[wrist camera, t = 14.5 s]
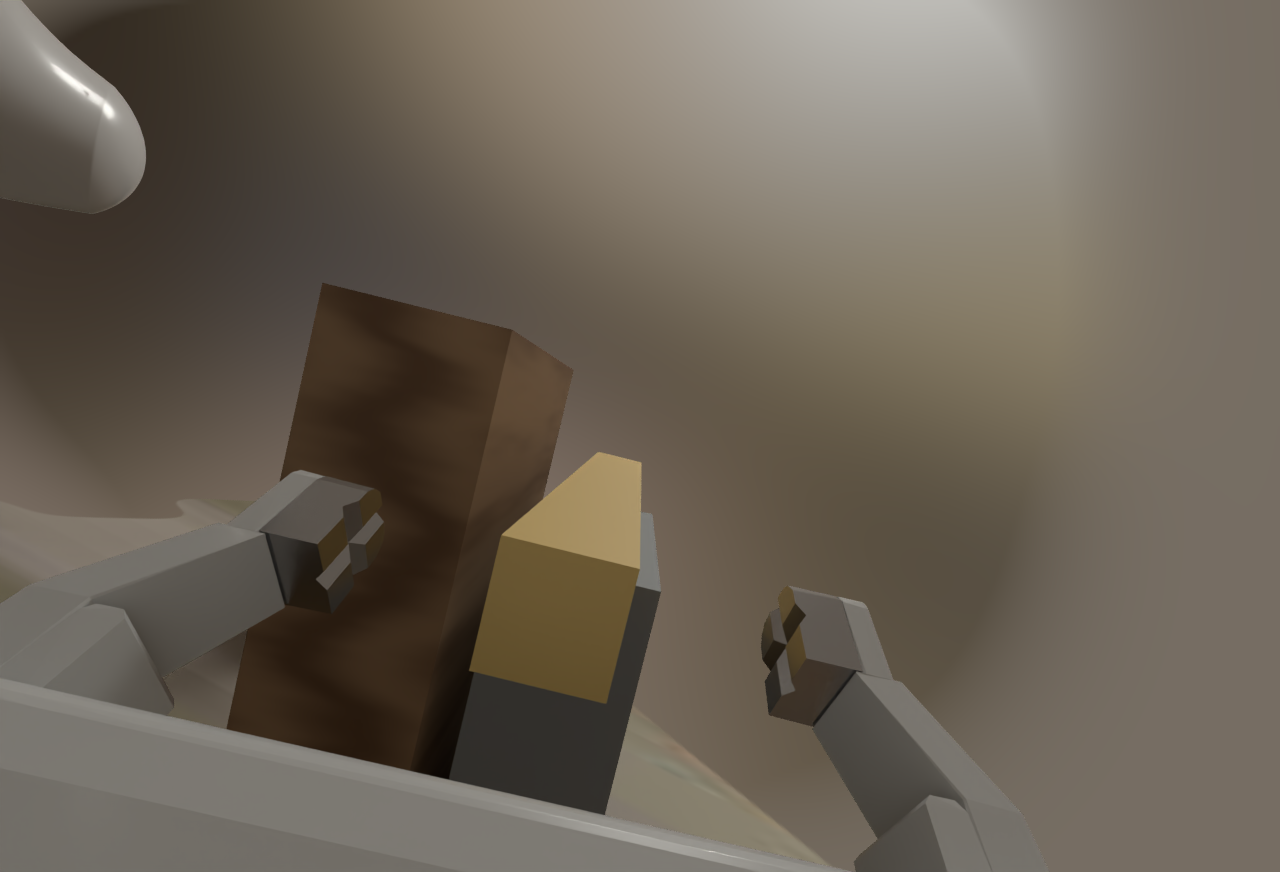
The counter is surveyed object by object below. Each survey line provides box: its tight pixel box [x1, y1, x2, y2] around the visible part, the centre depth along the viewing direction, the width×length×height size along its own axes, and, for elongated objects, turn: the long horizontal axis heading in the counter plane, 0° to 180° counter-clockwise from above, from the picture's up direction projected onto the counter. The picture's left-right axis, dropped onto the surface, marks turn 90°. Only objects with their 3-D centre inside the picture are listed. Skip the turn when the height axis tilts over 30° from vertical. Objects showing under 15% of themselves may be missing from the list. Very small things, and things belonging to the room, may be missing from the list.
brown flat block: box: [227, 283, 573, 780], centre depth 26 cm, size 7×16×26 cm, turn 0°
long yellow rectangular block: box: [469, 452, 641, 704], centre depth 22 cm, size 3×23×3 cm, turn 0°
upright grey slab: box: [449, 512, 661, 815], centre depth 25 cm, size 6×14×18 cm, turn 0°
